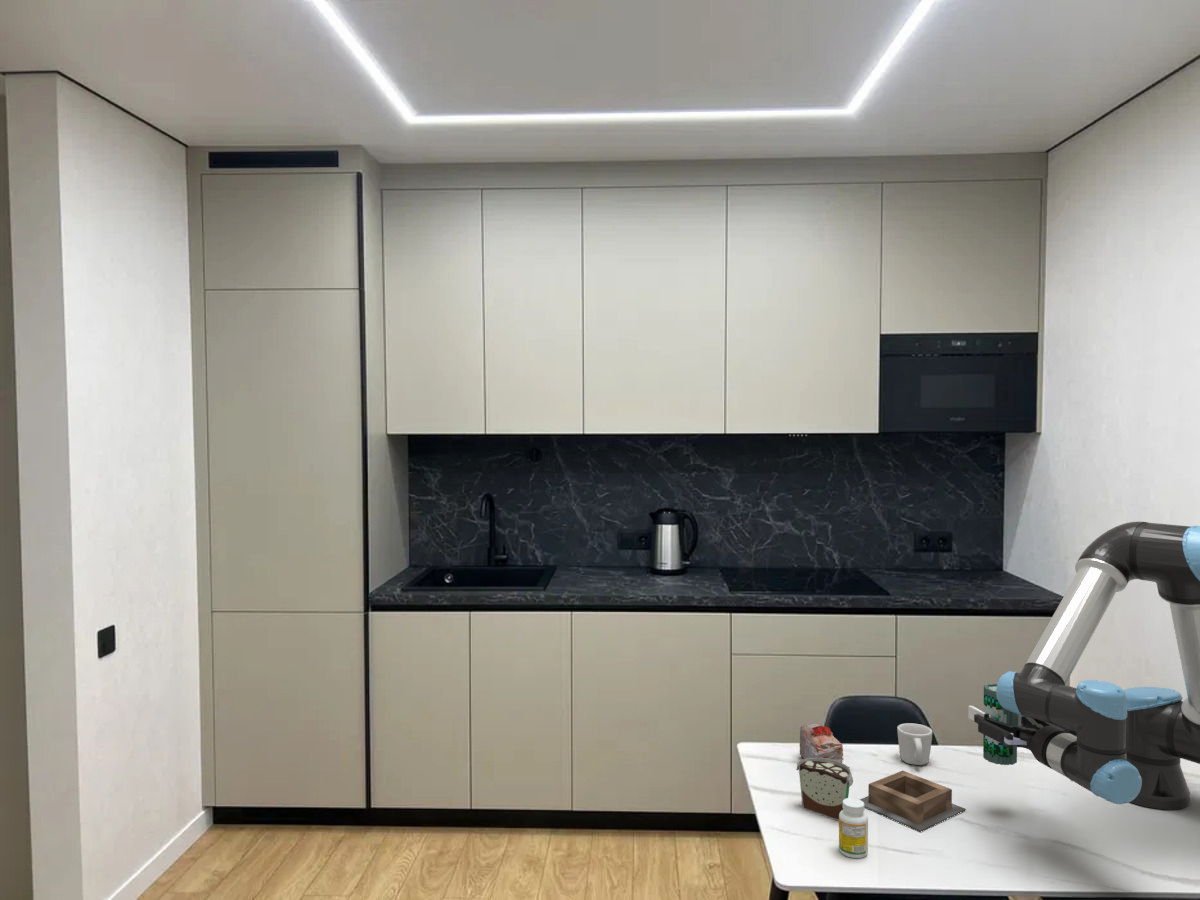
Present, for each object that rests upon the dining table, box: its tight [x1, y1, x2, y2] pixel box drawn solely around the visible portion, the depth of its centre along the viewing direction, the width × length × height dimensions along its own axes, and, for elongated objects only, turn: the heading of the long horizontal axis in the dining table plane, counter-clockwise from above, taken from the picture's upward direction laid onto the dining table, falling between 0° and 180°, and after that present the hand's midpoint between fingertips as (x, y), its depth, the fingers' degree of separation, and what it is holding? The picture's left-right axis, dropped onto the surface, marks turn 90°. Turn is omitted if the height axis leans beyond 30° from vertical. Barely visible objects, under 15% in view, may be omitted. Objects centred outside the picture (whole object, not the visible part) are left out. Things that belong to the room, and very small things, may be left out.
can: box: [982, 683, 1018, 766], centre depth 177 cm, size 6×6×15 cm
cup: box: [896, 722, 933, 766], centre depth 203 cm, size 11×8×8 cm
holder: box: [859, 770, 967, 833], centre depth 181 cm, size 16×16×4 cm
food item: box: [799, 723, 844, 763], centre depth 202 cm, size 14×8×10 cm, turn 7°
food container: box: [796, 758, 854, 822], centre depth 179 cm, size 12×6×10 cm, turn 47°
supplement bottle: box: [838, 797, 869, 859], centre depth 162 cm, size 5×5×10 cm
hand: (985, 710), depth 182 cm, fingers closed on can, 6 cm apart
